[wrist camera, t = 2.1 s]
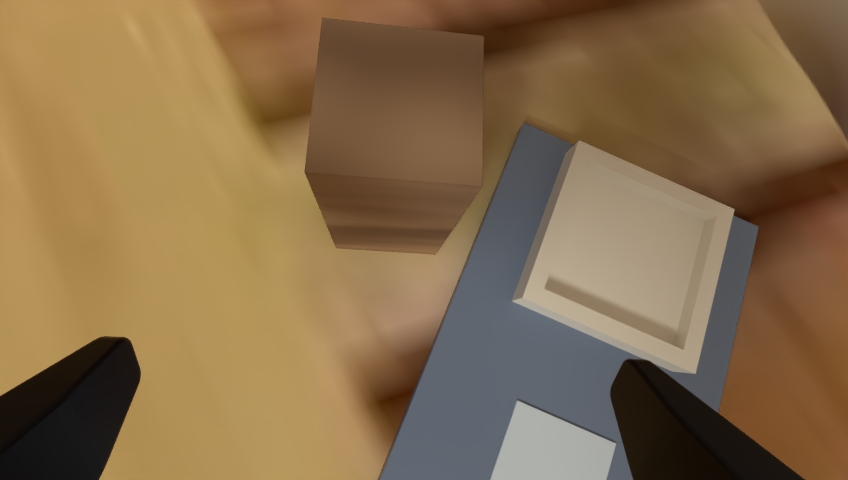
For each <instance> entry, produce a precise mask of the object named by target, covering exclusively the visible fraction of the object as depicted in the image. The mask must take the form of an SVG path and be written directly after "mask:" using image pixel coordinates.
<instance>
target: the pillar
mask: <svg viewBox="0 0 848 480" xmlns="http://www.w3.org/2000/svg"><path fill="white" fill-rule="evenodd" d="M483 81H484V36H479V35H471V34H462V33H453V32H444V31H435V30H427V29H418V28H409V27H400V26H391V25H383V24H374V23H365V22H356V21H347V20H339V19H330V18H322V24H321V33H320V41H319V50H318V59H317V68H316V76H315V85H314V94H313V103H312V111H311V120H310V129H309V138H308V146H307V155H306V164H305V174H306V177H307V179H308V181H309V184H310V186H311V189H312V191H313V193H314V196H315V198H316V201H317V203H318V205H319V208H320V210H321V213H322V215H323V218H324V220H325V222H326V225H327V227H328V230H329V232H330V234H331V237H332V239H333V242H334V244H335V246H336V248H342V249H357V250H373V251H389V252H404V253H420V254H436V253H437V252H438V250H439V249H440V247H441V246H442V244H443V243H444V241H445V240H446V238H447V237H448V235H449V234H450V233H451V231H452V230H453V228H454V227H455V225H456V224H457V222H458V221H459V219H460V218H461V217H462V215H463V214H464V212H465V211H466V209H467V208H468V206H469V205H470V203H471V202H472V200H473V199H474V198H475V196H476V195H477V193H478V192H479V190H480V189H481V187H482V168H483Z"/></svg>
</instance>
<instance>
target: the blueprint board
mask: <svg viewBox="0 0 848 480" xmlns="http://www.w3.org/2000/svg"><path fill="white" fill-rule="evenodd" d="M734 210H735V209H733V208H731V207H729V206H726V205H724V204H722V203H720V202H717V201H715V200H713V199H711V198H708V197H706V196H704V195H702V194H699V193H697V192H695V191H692V190H690V189H688V188H686V187H683V186H681V185H679V184H677V183H674V182H672V181H670V180H668V179H665V178H663V177H661V176H659V175H656V174H654V173H652V172H650V171H647V170H645V169H643V168H641V167H638V166H636V165H634V164H632V163H629V162H627V161H625V160H623V159H620V158H618V157H616V156H614V155H611V154H609V153H607V152H605V151H602V150H600V149H598V148H596V147H593V146H591V145H589V144H587V143H584V142H582V141H580V140H579V141H578V142H577V143H576V144H575V145H573V144H571V143H569V142H566V141H564V140H562V139H560V138H557V137H555V136H553V135H551V134H548V133H546V132H544V131H542V130H539V129H537V128H535V127H533V126H530V125H528V124H526V123H523V124H522V126H521V127H520V129H519V131H518V133H517V136H516V138H515V141H514V143H513V146H512V148H511V151H510V153H509V156H508V158H507V161H506V163H505V166H504V168H503V171H502V173H501V176H500V178H499V180H498V183H497V185H496V188H495V190H494V193H493V195H492V198H491V200H490V203H489V205H488V208H487V210H486V213H485V215H484V218H483V220H482V223H481V225H480V228H479V230H478V233H477V235H476V237H475V240H474V242H473V245H472V247H471V250H470V252H469V255H468V257H467V260H466V262H465V265H464V267H463V270H462V272H461V275H460V277H459V280H458V282H457V285H456V287H455V289H454V292H453V294H452V297H451V299H450V302H449V304H448V307H447V309H446V312H445V314H444V317H443V319H442V322H441V324H440V327H439V329H438V332H437V334H436V337H435V339H434V342H433V344H432V346H431V349H430V351H429V354H428V356H427V359H426V361H425V364H424V366H423V369H422V371H421V374H420V376H419V379H418V381H417V384H416V386H415V389H414V391H413V394H412V396H411V398H410V401H409V403H408V406H407V408H406V411H405V413H404V416H403V418H402V421H401V423H400V426H399V428H398V431H397V433H396V436H395V438H394V441H393V443H392V446H391V448H390V451H389V453H388V455H387V458H386V460H385V463H384V465H383V468H382V470H381V473H380V475H379V478H378V480H633V478H632V474H631V471H630V468H629V465H628V461H627V457H626V454H625V450H624V446H623V443H622V439H621V435H620V432H619V428H618V424H617V421H616V417H615V413H614V410H613V406H612V402H611V398H610V389H611V385H612V383H613V381H614V379H615V377H616V375H617V373H618V371H619V369H620V367H621V365H622V363H623V361H625V360H626V359H629V358H631V359H646V360H649V361H651V362H652V363H654V364H655V365H656V366H657V367H659V368H660V369H661V370H663V371H664V372H665V373H667V374H668V375H669V376H671V377H672V378H673V379H674V380H676V381H677V382H678V383H680V384H681V385H682V386H684V387H685V388H686V389H687V390H689V391H690V392H691V393H693V394H694V395H695V396H697V397H698V398H699V399H700V400H702V401H703V402H704V403H706V404H707V405H708V406H710V407H711V408H712V409H714V410H715V411H716V412H717V413H718V412H719V407H720V402H721V398H722V393H723V389H724V384H725V379H726V375H727V370H728V366H729V361H730V357H731V352H732V347H733V343H734V338H735V334H736V329H737V324H738V320H739V315H740V311H741V306H742V302H743V297H744V292H745V288H746V283H747V279H748V274H749V269H750V265H751V260H752V256H753V251H754V247H755V242H756V237H757V233H758V228H759V227H758V226H756V225H754V224H751V223H749V222H747V221H745V220H742V219H740V218H738V217H736V216H733V214H734Z"/></svg>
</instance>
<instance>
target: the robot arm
mask: <svg viewBox="0 0 848 480" xmlns="http://www.w3.org/2000/svg"><path fill="white" fill-rule="evenodd" d="M140 377H141V371H140V367H139V364H138V361H137V358H136V355H135V352H134V349H133V346H132V343H131V341H130V340H129V339H128V338H125V337H109V336H104V337H100V338H97V339H95V340H94V341H92V342H90V343H89V344H87V345H85V346H84V347H82V348H80V349H79V350H77V351H75V352H74V353H72V354H70V355H68V356H67V357H65V358H63V359H62V360H60V361H58V362H57V363H55V364H53V365H52V366H50V367H48V368H47V369H45V370H43V371H42V372H40V373H38V374H37V375H35V376H33V377H32V378H30V379H28V380H26V381H25V382H23V383H21V384H20V385H18V386H16V387H15V388H13V389H11V390H10V391H8V392H6V393H5V394H3V395H1V396H0V480H99V478H100V476H101V474H102V472H103V470H104V468H105V466H106V464H107V461H108V459H109V457H110V454H111V452H112V449H113V447H114V444H115V442H116V439H117V437H118V434H119V432H120V430H121V427H122V425H123V422H124V420H125V417H126V415H127V412H128V410H129V407H130V405H131V402H132V400H133V397H134V395H135V392H136V390H137V387H138V385H139V382H140ZM610 398H611V402H612V406H613V410H614V413H615V417H616V421H617V424H618V428H619V432H620V435H621V439H622V443H623V446H624V450H625V454H626V457H627V461H628V465H629V468H630V471H631V474H632V478H633V480H805V479H803V478H802V477H801V476H799V475H798V474H797V473H796V472H794V471H793V470H792V469H790V468H789V467H788V466H786V465H785V464H784V463H783V462H781V461H780V460H779V459H777V458H776V457H775V456H773V455H772V454H771V453H770V452H768V451H767V450H766V449H764V448H763V447H762V446H760V445H759V444H758V443H757V442H755V441H754V440H753V439H751V438H750V437H749V436H747V435H746V434H745V433H743V432H742V431H741V430H740V429H738V428H737V427H736V426H734V425H733V424H732V423H730V422H729V421H728V420H727V419H725V418H724V417H723V416H721V415H720V414H719V413H717V412H716V411H715V410H714V409H712V408H711V407H710V406H708V405H707V404H706V403H704V402H703V401H702V400H700V399H699V398H698V397H697V396H695V395H694V394H693V393H691V392H690V391H689V390H687V389H686V388H685V387H684V386H682V385H681V384H680V383H678V382H677V381H676V380H674V379H673V378H672V377H671V376H669V375H668V374H667V373H665V372H664V371H663V370H661V369H660V368H659V367H657V366H656V365H655V364H654V363H652V362H651V361H649V360H646V359H631V358H629V359H626V360H625V361H623V363H622V365H621V367H620V369H619V371H618V373H617V375H616V377H615V379H614V381H613V383H612V385H611V389H610Z"/></svg>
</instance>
